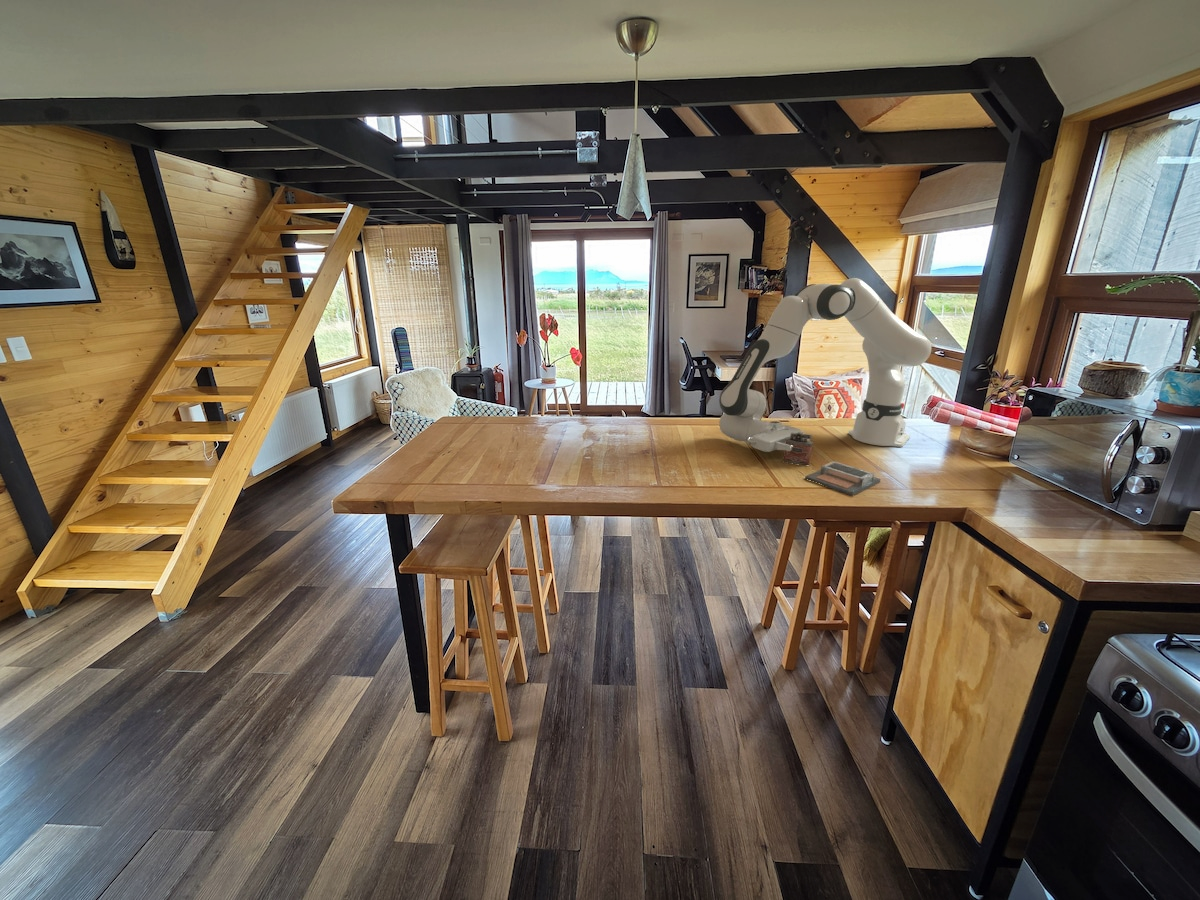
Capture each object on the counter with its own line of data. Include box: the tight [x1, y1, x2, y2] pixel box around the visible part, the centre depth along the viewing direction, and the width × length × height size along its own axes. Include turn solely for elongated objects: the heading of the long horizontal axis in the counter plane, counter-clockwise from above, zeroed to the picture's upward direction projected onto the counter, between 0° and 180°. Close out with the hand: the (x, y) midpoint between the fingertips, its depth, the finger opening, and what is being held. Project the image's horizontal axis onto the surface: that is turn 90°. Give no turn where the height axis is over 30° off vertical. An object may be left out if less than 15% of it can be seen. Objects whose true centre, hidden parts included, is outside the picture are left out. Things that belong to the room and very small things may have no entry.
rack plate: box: [804, 460, 881, 496], centre depth 139 cm, size 16×14×3 cm
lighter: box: [782, 432, 814, 466], centre depth 151 cm, size 8×3×10 cm, turn 62°
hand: (800, 445), depth 150 cm, fingers open, 8 cm apart
